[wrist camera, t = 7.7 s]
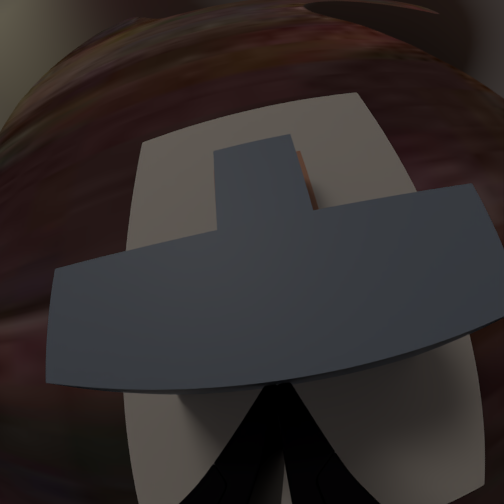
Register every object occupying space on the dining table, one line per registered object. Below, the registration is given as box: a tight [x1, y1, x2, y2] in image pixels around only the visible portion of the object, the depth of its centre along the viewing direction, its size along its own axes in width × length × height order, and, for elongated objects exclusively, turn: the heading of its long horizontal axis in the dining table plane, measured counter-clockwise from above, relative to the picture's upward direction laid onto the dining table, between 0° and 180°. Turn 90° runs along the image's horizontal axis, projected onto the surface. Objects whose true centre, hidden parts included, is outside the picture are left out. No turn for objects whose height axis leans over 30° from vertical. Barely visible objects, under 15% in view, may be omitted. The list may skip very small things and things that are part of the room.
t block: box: [46, 134, 504, 395], centre depth 13 cm, size 14×14×10 cm
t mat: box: [124, 93, 485, 504], centre depth 18 cm, size 34×22×1 cm, turn 7°
